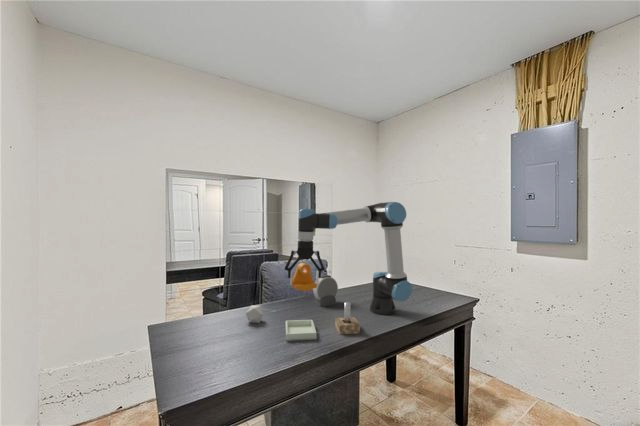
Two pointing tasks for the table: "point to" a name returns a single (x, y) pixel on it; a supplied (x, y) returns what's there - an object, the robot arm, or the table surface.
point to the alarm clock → (325, 291)
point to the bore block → (347, 326)
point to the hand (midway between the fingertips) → (304, 284)
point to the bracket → (303, 278)
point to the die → (255, 314)
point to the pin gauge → (347, 312)
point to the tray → (300, 330)
